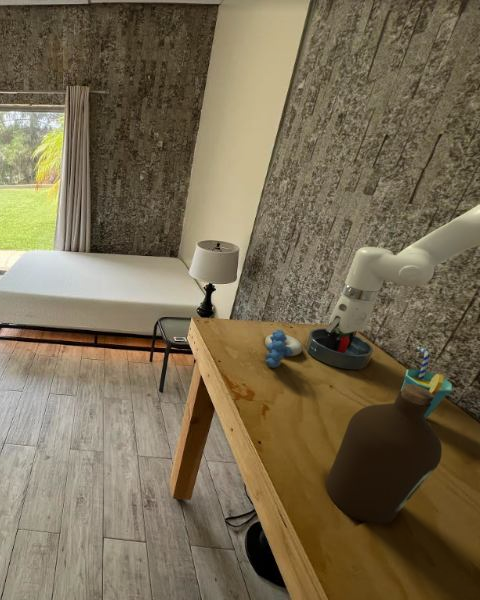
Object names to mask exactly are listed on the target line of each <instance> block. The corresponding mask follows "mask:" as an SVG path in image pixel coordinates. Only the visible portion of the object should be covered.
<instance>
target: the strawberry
mask: <svg viewBox="0 0 480 600" xmlns="http://www.w3.org/2000/svg"><path fill="white" fill-rule="evenodd" d="M336 333H337V334H339V331H336ZM349 335H350V334H349V333H344V334H343V336H342V337H341V339H340V340H342V341H341V344H340V346H339V348H338V351H337V352H341V353H345V351H346V349H347V347H348V344H349Z"/></svg>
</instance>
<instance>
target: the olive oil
mask: <svg viewBox="0 0 480 600" xmlns="http://www.w3.org/2000/svg"><path fill="white" fill-rule="evenodd" d="M401 389H402V388H401ZM402 390H403V391H401V390H400V391H399V392H398V394H397V396H396V398H395V401H394V402H393V403H392V402H391V403H381V404H372V405H367V406H364V407H362V408H361V409H359V410H358V411H357V412H355V413H354V414H353V415H352V416H351V418H350V419H349V421H348V424H347V427H346V429H345V432H344V435H343V438H342V440H341V443H340V445H339V448H338V451H337V454H336V457H335V459H334V461H333V463H332V466H331V468H330V471H329V473H328V475H327V478H326V481H325V489H326V493H327V494H328V497H329V498H330V499H331V501H332V502H333V503H334V504H335V505H336V507H338V508H339V509H340V510H341V511H342V512H344V513H345V514H346V515H348V516H349V517H351V518H352V519H354V520H356V521H358V522H359V523H362V524H365V522H367V521H368V522H370V523H375V524H387V523H391V522H392V521H393V520H395V518H396V517H397V515H398V514H399V513H400V511H401V510H402V509H403V508H404V507H405V505H406V504H407V503H408V501H409V500H410V499H411V498H412V497H413V496H414V495H415V493H416V492H417V491H418V490H419V488H421V486H422V485H423V484H424V482H425V481H426V480H427V479H428V478H429V477H430V476H431V474H432V473H433V472H434V471H435V470H436V469H437V468H438V466H439V464H440V462H441V459H442V452H443V451H442V450H443V449H442V442H441V439H440V437H439V436H438V434H437V432H436V431H435V430H434V428H433V427H432V425H431V424H430V423H429V421H428V420H427V419H425V417H424V415H425V413H426V412H427V410H428V409H429V407H430V406H431V403H430V402H432V400H433V399H434V395H433V394H432V393H431V392H430V391H428V390H426V389H424V388H422V387H419V386H416V385H410V384H408V385H405V386H404V387H403V389H402Z"/></svg>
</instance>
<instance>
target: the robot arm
mask: <svg viewBox="0 0 480 600" xmlns="http://www.w3.org/2000/svg"><path fill="white" fill-rule="evenodd" d="M479 246H480V203H479V204H478V205H476V206H474V207H473V208H471V209H469V210H468V211H466V212H464V213H463V214H461V215H459V216H457V217H455V218H453V219H452V220H451V221H449V222H447V223H445V224H444V225H442V226H440V227H438V228H436V229H434V230H432V231H431V232H429V233H428V234H426V235H425V236H423V237H421V238H420V239H418V240H416V241H415V242H413V243H411V244H410V245H409V246H407V247H406V248H404V249H402V250H401V251H399V252H398V253H397V254H394V252H393V251H391V250H389V249H388V248H384V247H379V246H378V247H377V246H363V247H360V248H358V249H357V250H356V252H355V254H354V256H353V260H352V263H351V265H350V268H349V271H348V274H347V276H346V278H345V281H344V283H343V286H342V289H341V292H340V295H341V296H339V299H338V301H337V303H336V304H335V307H334V308H333V311H332V313H331V315H330V318H329V321H328V327H327V330H326V331H327V332H328V334H329V335H328V336H329V338H328V340H327V343H326V345H325V347H327V348H329V349H331V350H334V351H338V348H339V346H340V344H341V341H342V340H340V339H341V337H342V336H343V334H344V333H349V334H350V335H349V344H348V347H347V348H349V347H350V345H351V343H352V340H353V338H354V337H353V336H357V332H359V331H360V330H364V329H366V328H367V327H368V324H369V322H370V320H371V316H372V314H373V311H374V308H375V303H376V300H377V297H378V295H379V293H380V291H381V289H382V286H383V284H384V282H385V281H387V282H390V283H392V284H395V285H399V286H402V287H409V288H411V287H421V286H422V285H425V284H427V283H428V282H430V281H431V279H432V278H433V276H434V273H435V267H437V266H439V265H440V264H442V263H444V262H445V261H447V260H449V259H451V258H453V257H455V256H457V255H459V254H461V253H463V252H465V251H468V250H470V249H473V248H477V247H479ZM335 330H337V331H339V334H337V333H336V332H335Z"/></svg>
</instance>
